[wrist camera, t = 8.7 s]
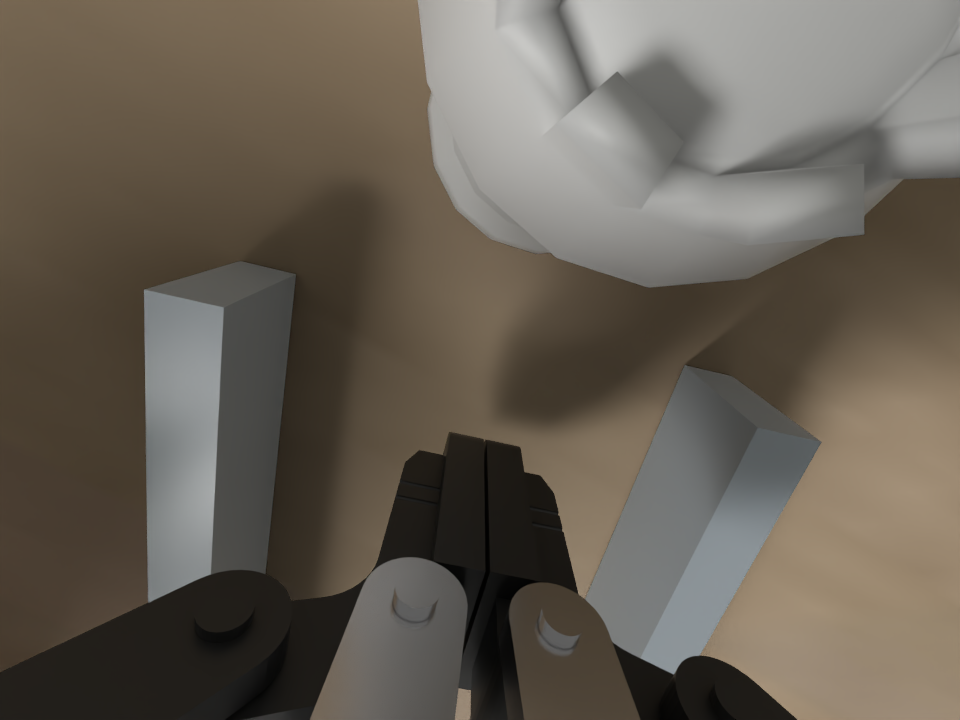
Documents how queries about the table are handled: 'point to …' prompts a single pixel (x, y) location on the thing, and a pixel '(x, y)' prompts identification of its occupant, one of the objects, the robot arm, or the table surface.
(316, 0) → the table surface
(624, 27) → the rook chess piece
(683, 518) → the channel
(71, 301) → the table surface
